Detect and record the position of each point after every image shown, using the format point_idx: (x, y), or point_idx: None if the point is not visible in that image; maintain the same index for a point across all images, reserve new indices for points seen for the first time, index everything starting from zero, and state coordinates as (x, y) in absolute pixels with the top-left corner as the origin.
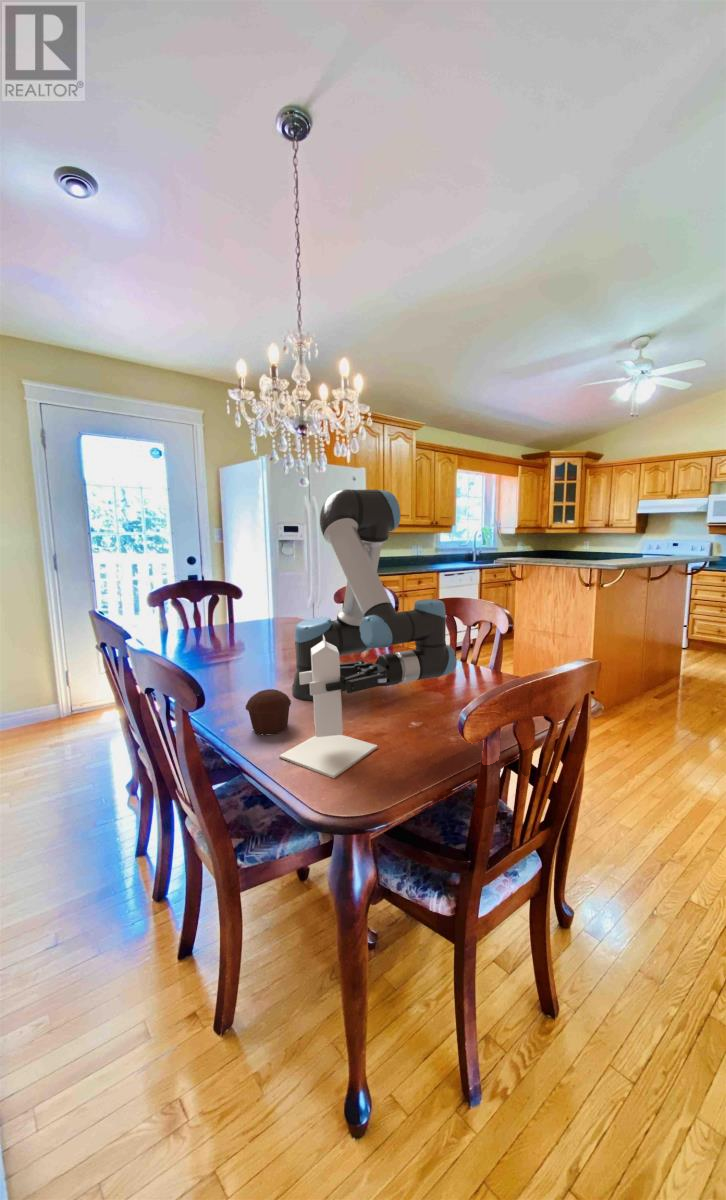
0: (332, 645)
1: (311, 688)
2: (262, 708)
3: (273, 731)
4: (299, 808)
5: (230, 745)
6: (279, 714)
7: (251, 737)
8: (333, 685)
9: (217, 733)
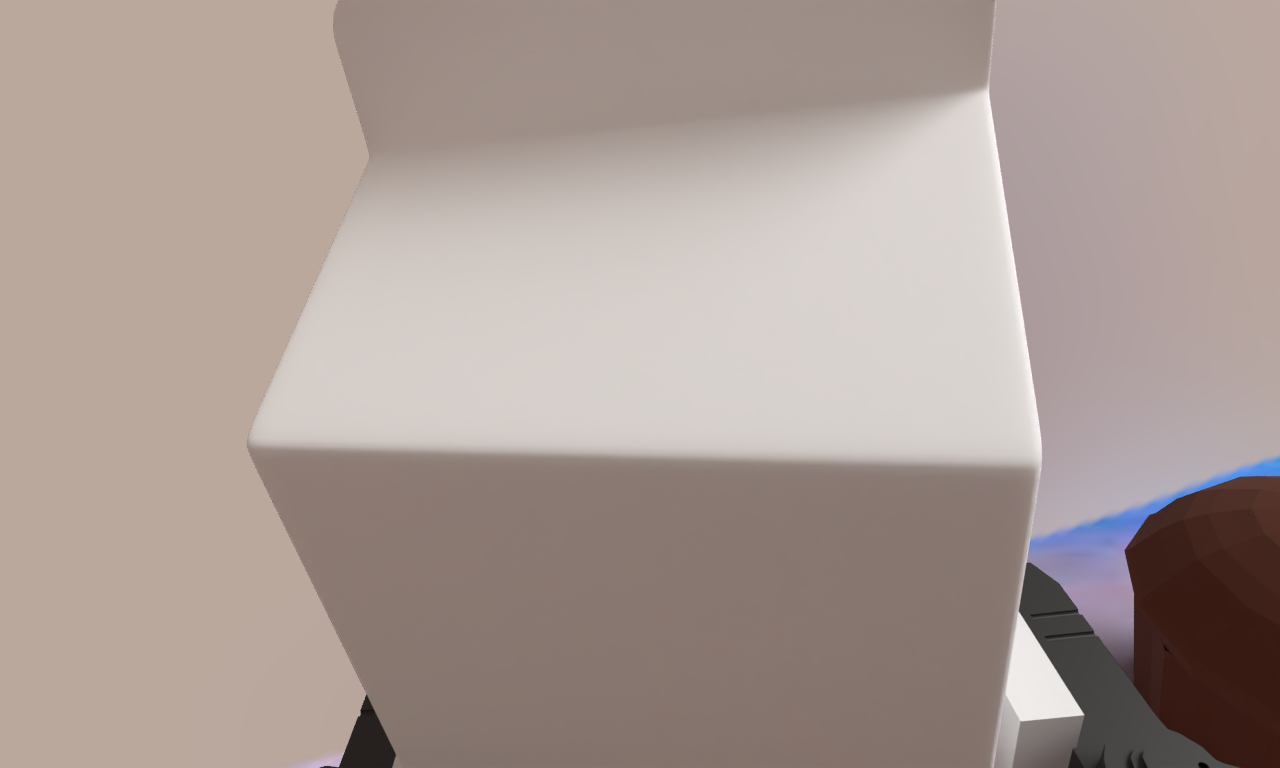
0: (877, 313)
1: None
2: (1154, 554)
3: None
4: (317, 764)
5: None
6: (1218, 700)
7: (1099, 632)
8: (367, 717)
9: (1144, 506)
